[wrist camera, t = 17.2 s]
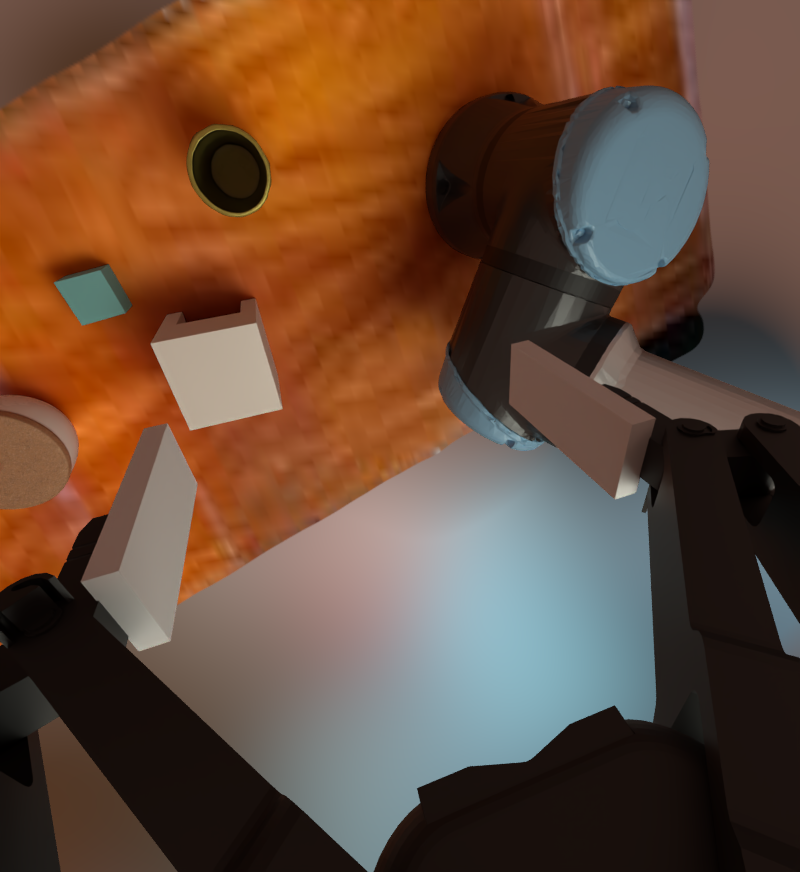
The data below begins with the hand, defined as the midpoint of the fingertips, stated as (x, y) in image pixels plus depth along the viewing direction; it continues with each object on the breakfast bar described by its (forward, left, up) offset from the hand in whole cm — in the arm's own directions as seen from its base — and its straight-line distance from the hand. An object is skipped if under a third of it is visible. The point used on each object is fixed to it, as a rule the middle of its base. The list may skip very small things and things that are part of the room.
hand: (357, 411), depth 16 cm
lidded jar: (+11, +31, -35) cm, 48 cm away
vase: (+8, -3, -35) cm, 36 cm away
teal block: (+12, +14, -35) cm, 39 cm away
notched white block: (0, +12, -35) cm, 37 cm away
